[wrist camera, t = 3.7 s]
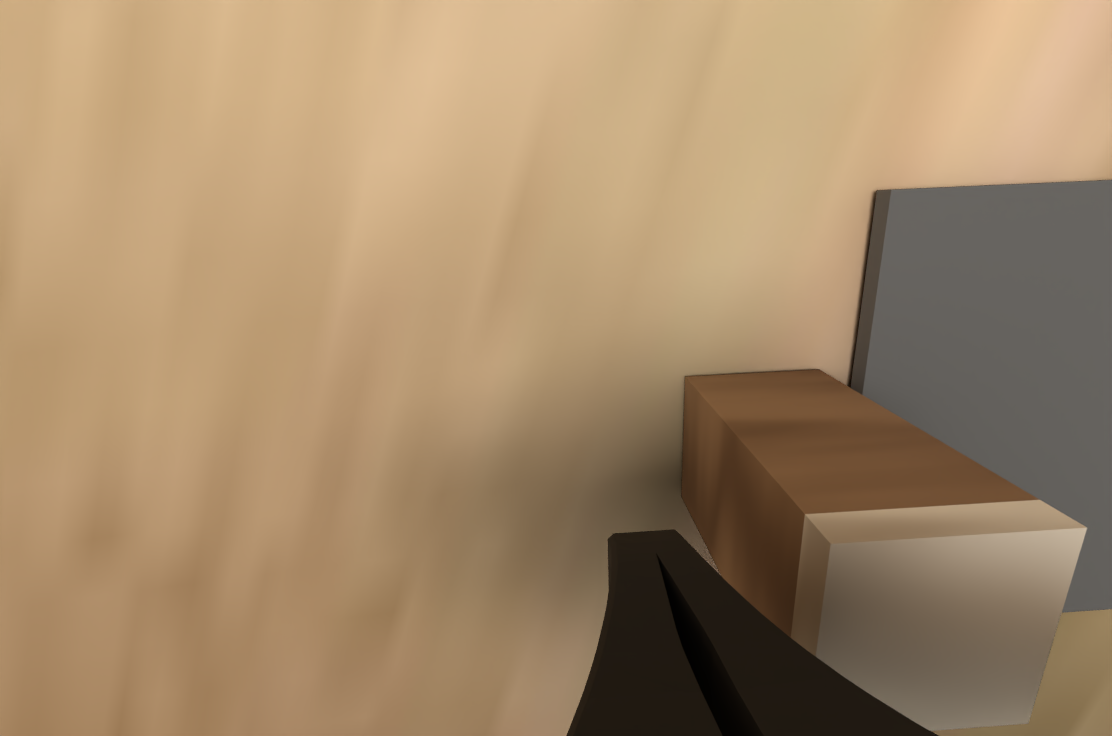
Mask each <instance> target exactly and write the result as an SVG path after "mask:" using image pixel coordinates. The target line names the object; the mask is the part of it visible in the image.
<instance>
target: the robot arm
mask: <svg viewBox="0 0 1112 736" xmlns="http://www.w3.org/2000/svg"><path fill="white" fill-rule="evenodd" d="M608 570H609V593H608V600H607V607H606V612H605V617H604V621H603V625H602V630H601V634H600V638H599V642H598V646H597V650H596V654H595V657H594V661H593V664H592V667H591V671H590V674H589V677H588V680H587V683H586V686H585V689H584V692H583V694H582V697H581V700H580V702H579V705H578V708H577V710H576V713H575V716H574V718H573V721H572V723H571V726H570V728H569V731H568V733H567V736H938V735H936V734H935V733H933V732H931V731H929V730H928V729H926V728H924V727H922V726H921V725H919V724H917V723H916V722H914V721H912V720H911V719H909V718H907V717H906V716H904V715H903V714H901V713H899V712H898V711H896V710H895V709H893V708H891V707H890V706H888V705H887V704H885V703H883V702H882V701H880V700H879V699H877V698H875V697H874V696H872V695H871V694H869V693H867V692H866V691H864V690H863V689H861V688H860V687H858V686H857V685H855V684H854V683H852V682H851V681H849V680H848V679H846V678H845V677H843V676H842V675H841V674H839V673H838V672H836V671H835V670H834V669H832V668H831V667H830V666H828V665H827V664H825V663H824V662H823V661H821V660H820V659H818V658H817V657H816V656H814V655H813V654H811V653H810V652H809V651H807V650H806V649H805V648H803V647H802V646H801V645H799V644H798V643H797V642H796V641H794V640H793V639H792V638H790V637H789V636H788V635H787V634H785V633H784V632H783V631H782V630H781V629H779V628H778V627H777V626H776V625H775V624H773V623H772V622H771V621H770V620H769V619H767V618H766V617H765V616H764V615H763V614H762V613H760V612H759V611H758V610H757V609H756V608H755V607H754V606H753V605H751V604H750V603H749V602H748V601H747V600H746V599H745V598H744V597H743V596H742V595H741V594H740V593H738V592H737V591H736V590H735V589H734V588H733V587H732V586H731V585H730V584H729V583H728V582H727V581H726V580H725V579H724V578H723V577H721V576H720V575H719V574H718V573H717V572H716V571H715V570H714V569H713V568H712V567H711V566H710V565H709V564H708V563H707V562H706V561H705V560H704V559H703V558H702V557H701V556H700V555H699V553H698V552H697V551H696V550H695V549H694V548H693V547H692V546H691V545H690V544H689V543H688V542H687V541H686V540H685V539H684V538H683V537H682V536H681V535H680V534H679V533H678V532H677V531H676V530H661V531H646V532H630V533H615V534H613V535H612V536H611V537H610V538H608Z"/></svg>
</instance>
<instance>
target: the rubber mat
mask: <svg viewBox="0 0 1112 736" xmlns="http://www.w3.org/2000/svg"><path fill="white" fill-rule="evenodd" d="M851 389H853V390H855V391H856V392H858V393H860V394H862V395H863V396H865V397H867V398H868V399H870V400H872V401H873V402H875V403H877V404H878V405H880V406H882V407H884V408H885V409H887V410H889V411H890V412H892V413H894V414H895V415H897V416H899V417H901V418H902V419H904V420H906V421H907V422H909V423H911V424H912V425H914V426H916V427H917V428H919V429H921V430H923V431H924V432H926V433H928V434H929V435H931V436H933V437H934V438H936V439H938V440H939V441H941V442H943V443H945V444H946V445H948V446H950V447H951V448H953V449H955V450H956V451H958V452H960V453H962V454H963V455H965V456H967V457H968V458H970V459H972V460H973V461H975V462H977V463H978V464H980V465H982V466H984V467H985V468H987V469H989V470H990V471H992V472H994V473H995V474H997V475H999V476H1001V477H1002V478H1004V479H1006V480H1007V481H1009V482H1011V483H1012V484H1014V485H1016V486H1017V487H1019V488H1021V489H1023V490H1024V491H1026V492H1028V493H1029V494H1031V495H1033V496H1034V497H1036V498H1038V499H1039V500H1041V501H1043V502H1045V503H1046V504H1048V505H1050V506H1051V507H1053V508H1055V509H1056V510H1058V511H1060V512H1061V513H1063V514H1065V515H1067V516H1068V517H1070V518H1072V519H1073V520H1075V521H1077V522H1078V523H1080V524H1082V525H1084V526H1085V527H1087V530H1086V533H1085V537H1084V540H1083V543H1082V547H1081V550H1080V553H1079V557H1078V560H1077V563H1076V567H1075V570H1074V573H1073V577H1072V580H1071V583H1070V587H1069V590H1068V593H1067V597H1066V600H1065V603H1064V607H1063V610H1062V612H1076V611H1090V610H1105V609H1112V180H1097V181H1075V182H1052V183H1029V184H1007V185H984V186H961V187H939V188H916V189H893V190H877V193H876V201H875V208H874V216H873V223H872V231H871V238H870V246H869V253H868V261H867V268H866V276H865V283H864V291H863V298H862V306H861V313H860V321H859V328H858V336H857V343H856V351H855V358H854V366H853V373H852V381H851Z"/></svg>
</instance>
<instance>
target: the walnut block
mask: <svg viewBox="0 0 1112 736" xmlns="http://www.w3.org/2000/svg"><path fill="white" fill-rule="evenodd" d="M681 497H682V499H683V501H684V503H685V505H686V507H687V509H688V511H689V513H690V515H691V517H692V518H693V520H694V522H695V524H696V526H697V528H698V530H699V532H700V534H701V536H702V538H703V540H704V542H705V544H706V546H707V548H708V550H709V552H710V554H711V556H712V558H713V560H714V562H715V564H716V566H717V568H718V570H719V572H720V574H721V576H722V577H723V578H724V579H725V580H726V581H727V582H728V583H729V584H730V585H731V586H732V587H733V588H734V589H735V590H736V591H737V592H738V593H740V594H741V595H742V596H743V597H744V598H745V599H746V600H747V601H748V602H749V603H750V604H751V605H753V606H754V607H755V608H756V609H757V610H758V611H759V612H760V613H762V614H763V615H764V616H765V617H766V618H767V619H769V620H770V621H771V622H772V623H773V624H775V625H776V626H777V627H778V628H779V629H781V630H782V631H783V632H784V633H785V634H787V635H788V636H789V637H790V638H792V639H793V640H794V641H796V642H797V643H798V644H799V645H801V646H802V647H803V648H805V649H806V650H807V651H809V652H810V653H811V654H813V655H814V656H816V657H817V658H818V659H820V660H821V661H823V662H824V663H825V664H827V665H828V666H830V667H831V668H832V669H834V670H835V671H836V672H838V673H839V674H841V675H842V676H843V677H845V678H846V679H848V680H849V681H851V682H852V683H854V684H855V685H857V686H858V687H860V688H861V689H863V690H864V691H866V692H867V693H869V694H871V695H872V696H874V697H875V698H877V699H879V700H880V701H882V702H883V703H885V704H887V705H888V706H890V707H891V708H893V709H895V710H896V711H898V712H899V713H901V714H903V715H904V716H906V717H907V718H909V719H911V720H912V721H914V722H916V723H917V724H919V725H921V726H922V727H924V728H926V729H928V730H929V731H935V730H948V729H962V728H975V727H989V726H1002V725H1015V724H1028V723H1029V719H1030V716H1031V713H1032V710H1033V706H1034V703H1035V700H1036V696H1037V693H1038V690H1039V686H1040V683H1041V680H1042V676H1043V673H1044V670H1045V666H1046V663H1047V660H1048V656H1049V653H1050V650H1051V646H1052V643H1053V640H1054V636H1055V633H1056V630H1057V626H1058V623H1059V620H1060V616H1061V613H1062V610H1063V607H1064V603H1065V600H1066V597H1067V593H1068V590H1069V587H1070V583H1071V580H1072V577H1073V573H1074V570H1075V567H1076V563H1077V560H1078V557H1079V553H1080V550H1081V547H1082V543H1083V540H1084V537H1085V533H1086V530H1087V527H1085V526H1084V525H1082V524H1080V523H1078V522H1077V521H1075V520H1073V519H1072V518H1070V517H1068V516H1067V515H1065V514H1063V513H1061V512H1060V511H1058V510H1056V509H1055V508H1053V507H1051V506H1050V505H1048V504H1046V503H1045V502H1043V501H1041V500H1039V499H1038V498H1036V497H1034V496H1033V495H1031V494H1029V493H1028V492H1026V491H1024V490H1023V489H1021V488H1019V487H1017V486H1016V485H1014V484H1012V483H1011V482H1009V481H1007V480H1006V479H1004V478H1002V477H1001V476H999V475H997V474H995V473H994V472H992V471H990V470H989V469H987V468H985V467H984V466H982V465H980V464H978V463H977V462H975V461H973V460H972V459H970V458H968V457H967V456H965V455H963V454H962V453H960V452H958V451H956V450H955V449H953V448H951V447H950V446H948V445H946V444H945V443H943V442H941V441H939V440H938V439H936V438H934V437H933V436H931V435H929V434H928V433H926V432H924V431H923V430H921V429H919V428H917V427H916V426H914V425H912V424H911V423H909V422H907V421H906V420H904V419H902V418H901V417H899V416H897V415H895V414H894V413H892V412H890V411H889V410H887V409H885V408H884V407H882V406H880V405H878V404H877V403H875V402H873V401H872V400H870V399H868V398H867V397H865V396H863V395H862V394H860V393H858V392H856V391H855V390H853V389H851V388H850V387H848V386H846V385H845V384H843V383H841V382H840V381H838V380H836V379H834V378H833V377H831V376H829V375H828V374H826V373H824V372H823V371H821V370H800V371H782V372H763V373H744V374H726V375H707V376H689V377H685V401H684V431H683V461H682V491H681Z"/></svg>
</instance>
